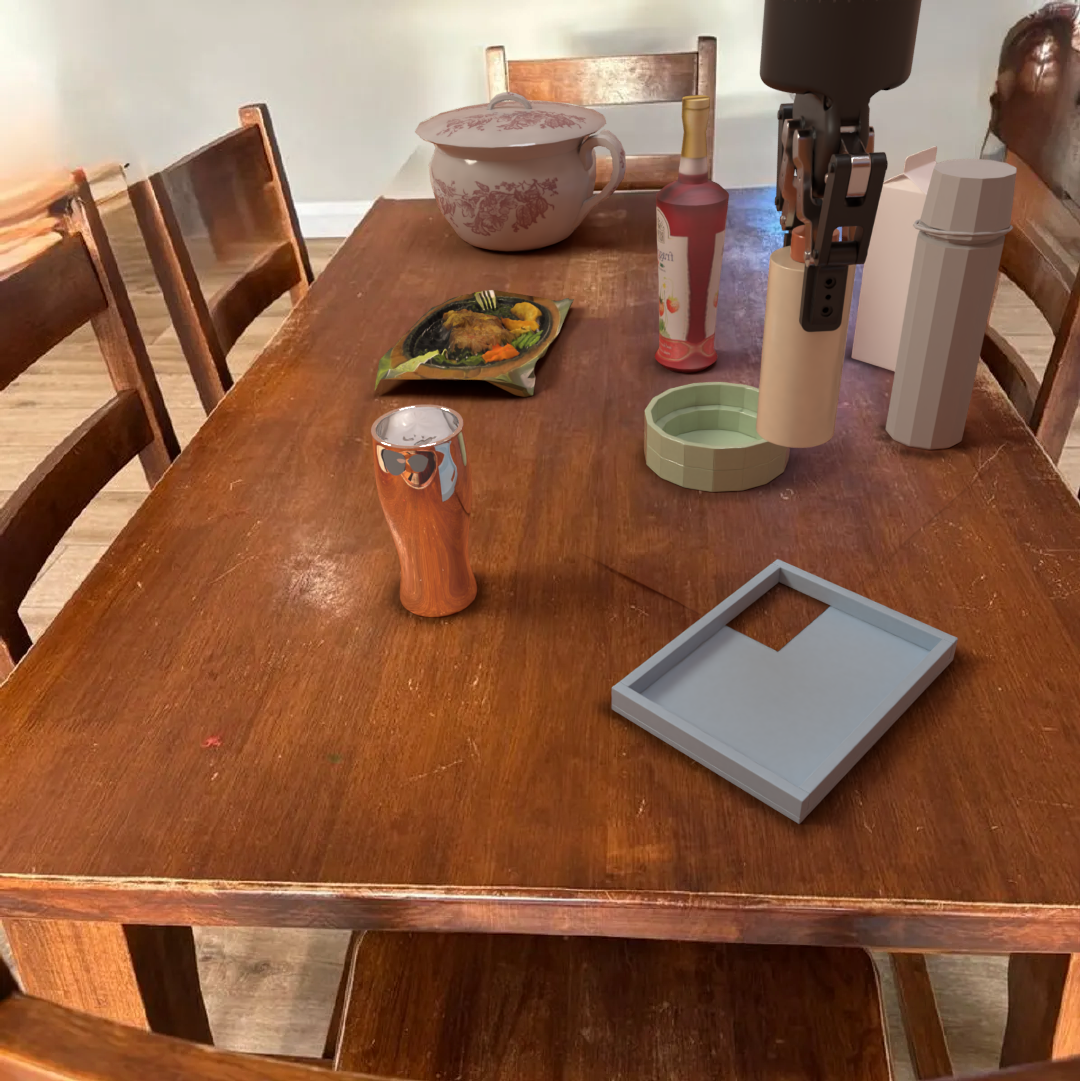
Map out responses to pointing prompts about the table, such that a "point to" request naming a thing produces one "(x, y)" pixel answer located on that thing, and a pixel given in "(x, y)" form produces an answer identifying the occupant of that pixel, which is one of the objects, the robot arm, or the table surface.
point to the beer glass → (427, 505)
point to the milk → (891, 262)
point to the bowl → (710, 438)
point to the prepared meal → (478, 340)
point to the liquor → (690, 250)
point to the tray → (785, 690)
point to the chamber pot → (518, 170)
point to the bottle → (798, 357)
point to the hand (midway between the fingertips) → (808, 309)
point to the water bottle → (949, 300)
